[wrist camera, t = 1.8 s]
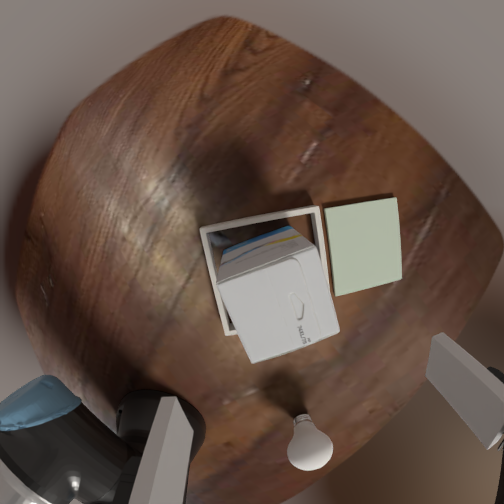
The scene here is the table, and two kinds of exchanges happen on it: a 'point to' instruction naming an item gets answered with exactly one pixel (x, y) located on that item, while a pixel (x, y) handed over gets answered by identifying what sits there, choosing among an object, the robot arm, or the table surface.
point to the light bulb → (308, 445)
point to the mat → (364, 244)
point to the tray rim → (205, 230)
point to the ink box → (276, 294)
